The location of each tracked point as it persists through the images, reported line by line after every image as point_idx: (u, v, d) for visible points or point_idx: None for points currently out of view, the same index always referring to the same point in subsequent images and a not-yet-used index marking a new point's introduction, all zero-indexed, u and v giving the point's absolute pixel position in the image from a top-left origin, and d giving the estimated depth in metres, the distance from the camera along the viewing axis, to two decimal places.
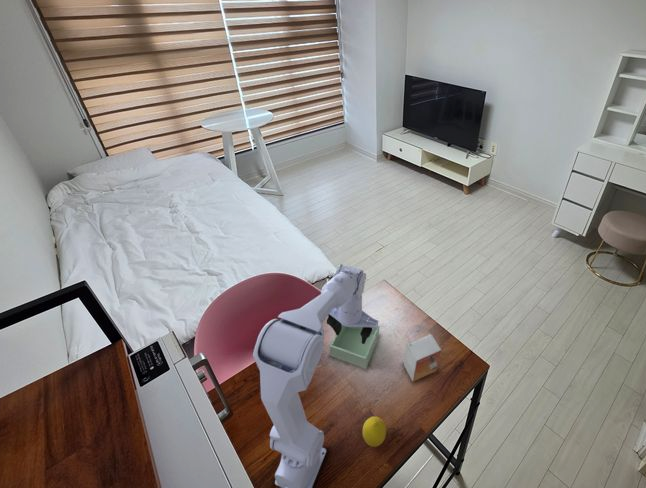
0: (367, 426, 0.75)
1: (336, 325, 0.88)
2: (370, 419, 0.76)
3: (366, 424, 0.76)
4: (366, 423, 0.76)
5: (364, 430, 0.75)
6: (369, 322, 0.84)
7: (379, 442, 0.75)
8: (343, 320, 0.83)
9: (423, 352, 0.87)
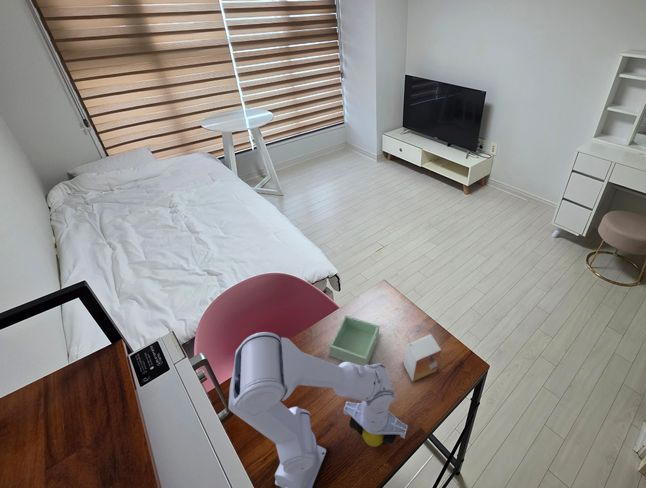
0: None
1: (360, 427, 0.75)
2: None
3: None
4: None
5: (364, 430, 0.75)
6: (397, 427, 0.72)
7: (379, 442, 0.75)
8: (366, 426, 0.71)
9: (423, 352, 0.87)
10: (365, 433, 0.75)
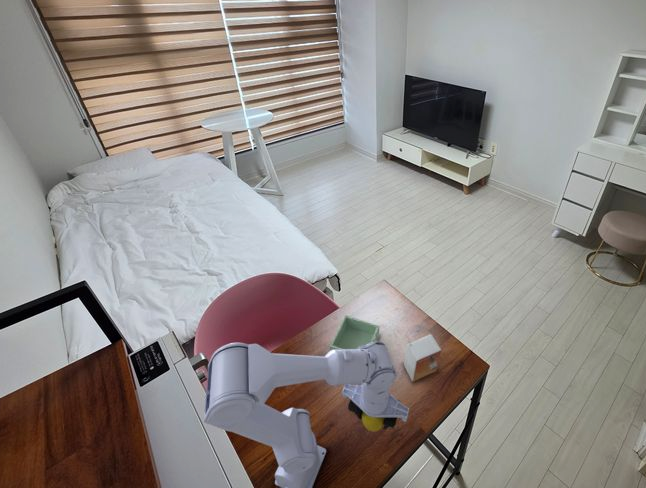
0: None
1: (359, 410, 0.72)
2: None
3: None
4: None
5: (363, 414, 0.72)
6: (398, 410, 0.68)
7: (379, 426, 0.71)
8: (366, 409, 0.67)
9: (423, 352, 0.87)
10: (364, 417, 0.71)
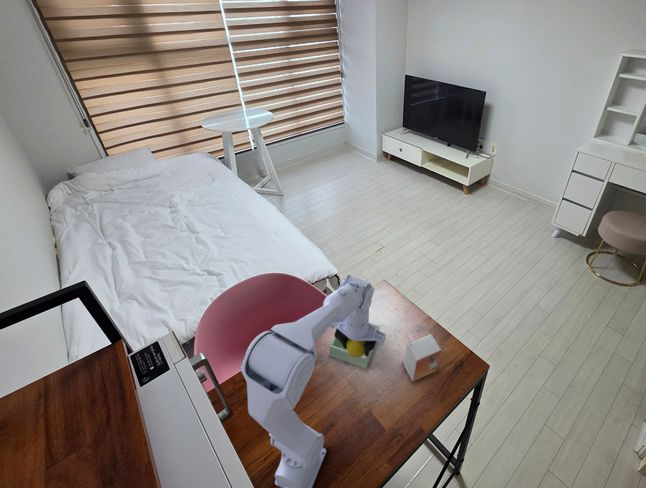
0: None
1: (344, 339, 0.84)
2: None
3: None
4: None
5: (348, 342, 0.84)
6: (376, 335, 0.80)
7: (361, 352, 0.84)
8: (349, 333, 0.79)
9: (423, 352, 0.87)
10: (349, 344, 0.84)
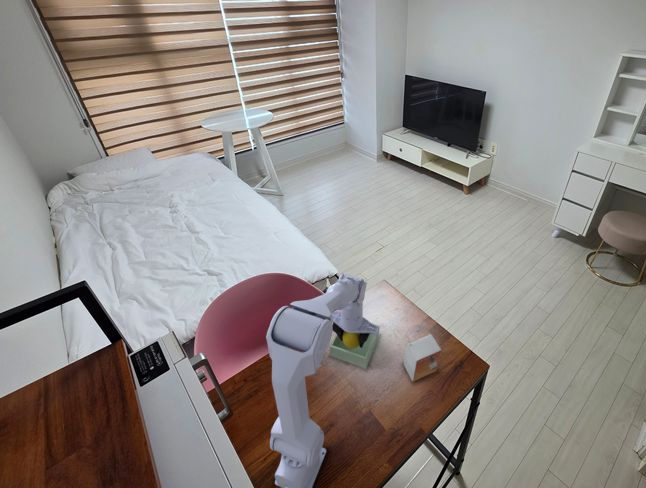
0: None
1: (340, 331, 0.92)
2: None
3: None
4: None
5: (343, 334, 0.92)
6: (369, 328, 0.88)
7: (356, 343, 0.91)
8: (345, 326, 0.87)
9: (423, 352, 0.87)
10: (344, 336, 0.91)
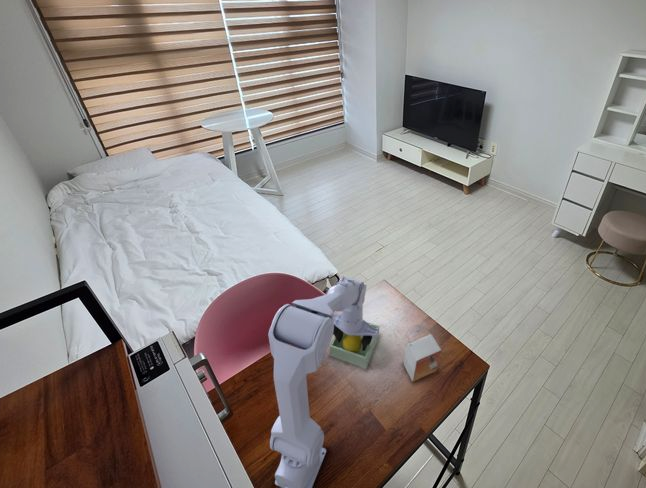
0: (346, 336, 0.93)
1: (338, 333, 0.92)
2: None
3: (346, 335, 0.94)
4: (346, 335, 0.94)
5: (344, 340, 0.93)
6: (369, 330, 0.89)
7: (356, 349, 0.93)
8: (345, 329, 0.88)
9: (423, 352, 0.87)
10: (345, 342, 0.93)
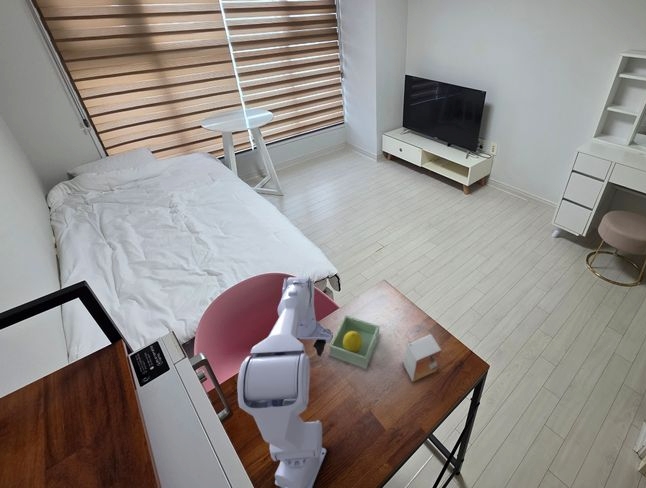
0: (346, 336, 0.93)
1: None
2: (349, 332, 0.94)
3: (346, 335, 0.94)
4: (346, 335, 0.94)
5: (344, 340, 0.93)
6: (323, 334, 0.80)
7: (356, 349, 0.93)
8: None
9: (423, 352, 0.87)
10: (345, 342, 0.93)
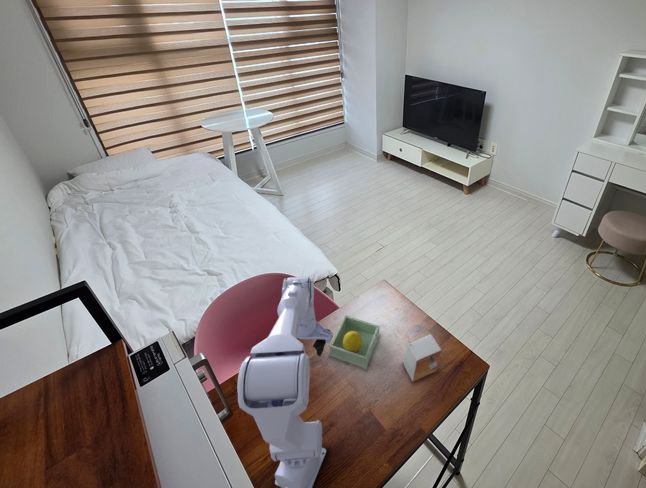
0: (346, 336, 0.93)
1: None
2: (349, 332, 0.94)
3: (346, 335, 0.94)
4: (346, 335, 0.94)
5: (344, 340, 0.93)
6: (322, 334, 0.80)
7: (356, 349, 0.93)
8: None
9: (423, 352, 0.87)
10: (345, 342, 0.93)
